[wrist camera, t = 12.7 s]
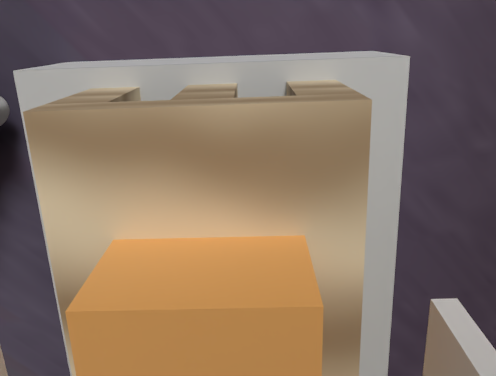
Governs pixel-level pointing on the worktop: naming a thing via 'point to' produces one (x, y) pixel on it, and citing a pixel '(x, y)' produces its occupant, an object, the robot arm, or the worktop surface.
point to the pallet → (211, 182)
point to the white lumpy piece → (3, 111)
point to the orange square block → (199, 309)
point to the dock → (265, 85)
